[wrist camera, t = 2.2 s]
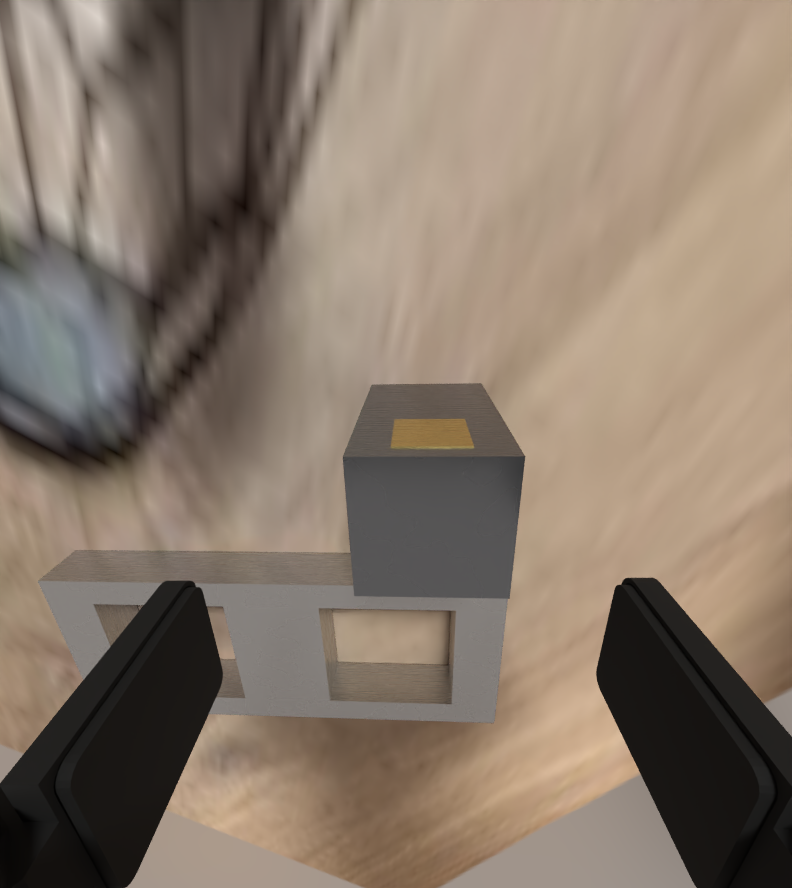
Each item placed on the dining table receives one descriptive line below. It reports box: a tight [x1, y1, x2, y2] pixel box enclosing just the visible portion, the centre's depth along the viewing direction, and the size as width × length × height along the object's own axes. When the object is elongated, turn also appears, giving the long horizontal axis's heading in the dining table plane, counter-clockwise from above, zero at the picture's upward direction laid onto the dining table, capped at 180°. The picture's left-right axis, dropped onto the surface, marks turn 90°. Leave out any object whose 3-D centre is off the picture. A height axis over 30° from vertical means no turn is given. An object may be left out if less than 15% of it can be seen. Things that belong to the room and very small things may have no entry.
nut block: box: [343, 383, 525, 599], centre depth 16 cm, size 5×5×8 cm
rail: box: [38, 551, 508, 723], centre depth 23 cm, size 24×10×2 cm, turn 91°
